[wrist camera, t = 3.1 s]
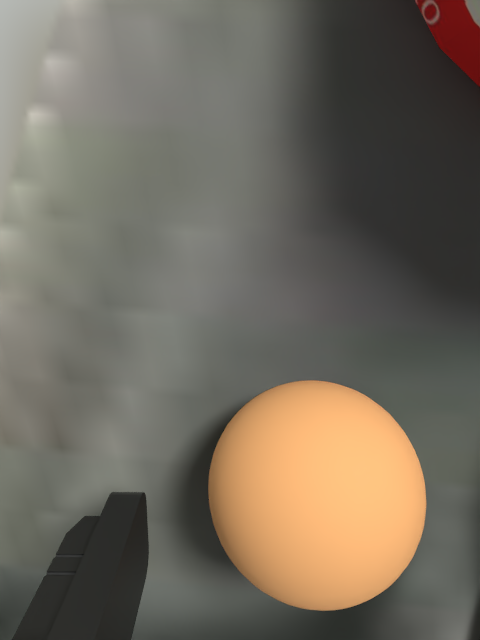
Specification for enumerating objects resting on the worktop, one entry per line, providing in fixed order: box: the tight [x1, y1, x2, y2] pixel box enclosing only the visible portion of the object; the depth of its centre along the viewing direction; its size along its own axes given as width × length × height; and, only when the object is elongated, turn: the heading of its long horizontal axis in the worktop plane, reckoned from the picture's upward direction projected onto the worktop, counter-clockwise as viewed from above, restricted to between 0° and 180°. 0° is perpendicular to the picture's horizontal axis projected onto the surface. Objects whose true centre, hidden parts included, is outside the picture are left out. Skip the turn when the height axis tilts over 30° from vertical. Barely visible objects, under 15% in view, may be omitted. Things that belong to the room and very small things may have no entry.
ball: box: [208, 380, 426, 611], centre depth 11 cm, size 5×5×5 cm
